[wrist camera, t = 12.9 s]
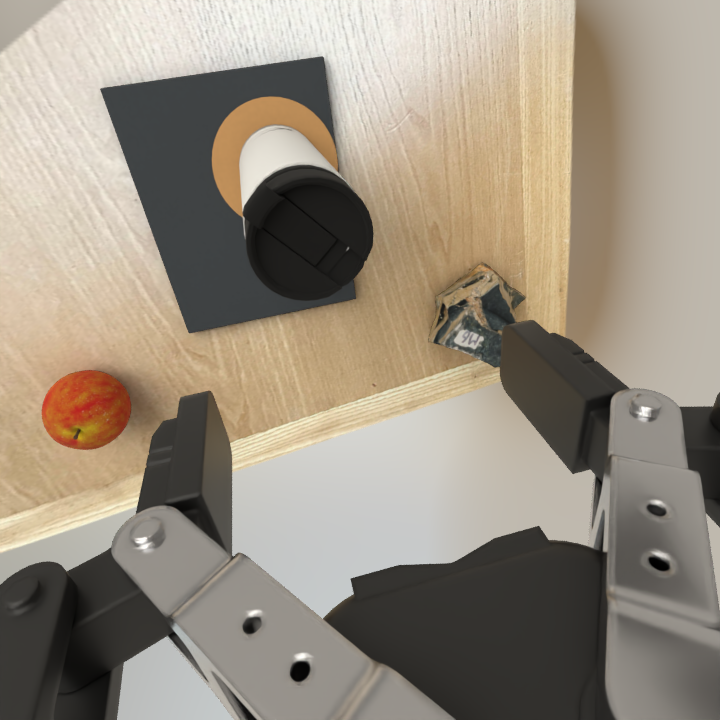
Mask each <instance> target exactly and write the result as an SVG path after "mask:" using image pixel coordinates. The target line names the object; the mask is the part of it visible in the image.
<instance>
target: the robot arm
mask: <svg viewBox="0 0 720 720" xmlns="http://www.w3.org/2000/svg"><path fill="white" fill-rule="evenodd" d="M500 377H501V382H502V385H503V387H504V390H505V391H506V393H507V394H508V395H509V397H510V398H511V399H512V400H513V401H514V402H515V404H516V405H517V406H518V408H519V409H520V410H521V411H522V413H523V414H524V415H525V416H526V417H527V419H528V420H529V421H530V422H531V423H532V425H533V426H534V427H535V428H536V430H537V431H538V432H539V433H540V434H541V436H542V437H543V438H544V439H545V440H546V442H547V443H548V444H549V445H550V447H551V448H552V449H553V450H554V452H555V453H556V454H557V455H558V456H559V458H560V459H561V460H562V461H563V463H564V464H565V465H566V466H567V468H568V469H569V470H570V471H571V472H572V474H574V473H578V472H582V471H586V470H589V469H591V470H592V472H593V473H594V474H595V478H594V482H593V491H592V503H591V516H590V529H589V540H588V546H585V545H581V544H578V543H572V542H567V541H557V540H548V539H547V537H546V536H545V534H544V533H543V531H542V530H541V528H540V527H539V526H537V527H533V528H530V529H526V530H523V531H519V532H515V533H512V534H509V535H505V536H501V537H498V538H494V539H493V540H491V541H490V542H488V543H486V544H484V545H482V546H481V547H479V548H477V549H476V550H474V551H472V552H471V553H469V554H467V555H466V556H464V557H462V558H461V559H459V560H457V561H455V562H453V563H447V564H419V565H398V566H394V567H390V568H387V569H383V570H380V571H376V572H373V573H369V574H365V575H362V576H358V577H355V578H351V582H352V587H353V591H354V594H353V595H352V596H350V597H348V598H347V599H345V600H344V601H342V602H341V603H340V604H338V605H337V606H336V607H335V608H333V609H332V610H331V611H330V612H329V613H328V614H327V615H326V616H325V617H324V618H323V619H322V618H321V617H320V616H318V615H317V614H316V613H315V612H314V611H312V610H311V609H310V608H309V607H308V606H306V605H305V604H304V603H303V602H301V601H300V600H299V599H298V598H297V597H296V596H294V595H293V594H292V593H291V592H290V591H288V590H287V589H286V588H285V587H283V586H282V585H281V584H280V583H279V582H277V581H276V580H275V579H274V578H273V577H272V576H270V575H269V574H268V573H267V572H266V571H264V570H263V569H262V568H261V567H260V566H258V565H257V564H256V563H255V562H253V561H252V560H251V559H250V558H249V557H247V556H246V555H244V554H242V553H237V554H236V555H235V556H234V557H233V556H232V453H231V447H230V442H229V438H228V435H227V432H226V429H225V426H224V424H223V421H222V418H221V415H220V412H219V410H218V407H217V404H216V401H215V399H214V396H213V394H212V392H211V391H206V392H202V393H197V394H193V395H188V396H184V397H181V398H180V401H179V407H178V414H177V418H174V419H170V420H166V421H163V422H162V424H161V425H160V426H159V428H158V429H157V430H156V432H155V433H154V435H153V436H152V439H151V444H150V449H149V455H148V458H147V463H146V465H147V468H145V473H144V478H143V482H142V487H141V492H140V497H139V501H138V506H137V511H136V515H134V516H133V517H131V518H130V519H129V520H128V521H126V522H125V523H124V524H123V525H122V526H121V528H120V529H119V530H118V532H117V533H116V535H115V537H114V539H113V541H112V546H111V548H109V549H108V550H107V551H105V552H103V553H102V554H100V555H98V556H96V557H94V558H92V559H90V560H88V561H86V562H85V563H83V564H81V565H79V566H77V567H75V568H73V569H71V570H69V571H67V572H66V570H65V569H64V568H63V567H62V566H61V565H60V564H58V563H55V562H41V563H36V564H33V565H30V566H28V567H26V568H24V569H22V570H20V571H18V572H17V573H15V574H13V575H12V576H11V577H9V578H8V579H7V580H6V581H4V582H3V583H2V584H1V585H0V720H117V713H118V705H119V696H120V689H121V680H122V671H123V664H124V662H125V661H127V660H128V659H130V658H132V657H133V656H135V655H137V654H138V653H140V652H141V651H143V650H145V649H146V648H148V647H150V646H151V645H153V644H155V643H156V642H158V641H160V640H161V639H163V638H164V637H167V638H168V640H169V641H170V642H171V643H172V644H173V645H174V647H175V648H176V649H177V650H178V651H179V652H180V654H181V655H182V656H183V657H184V658H185V659H186V661H187V662H188V663H189V664H190V665H191V666H192V668H194V670H195V671H196V672H197V674H198V675H199V676H200V677H201V678H202V679H203V681H204V682H205V683H206V684H207V685H208V686H209V687H210V688H211V690H212V691H213V692H214V693H215V695H216V696H217V697H218V699H219V700H220V701H221V703H222V704H223V705H224V707H225V708H226V709H227V711H228V712H229V713H230V715H231V716H232V717H233V718H234V720H720V610H719V604H718V596H717V589H716V582H715V575H714V568H713V561H712V554H711V547H710V540H709V533H708V526H707V520H706V513H707V514H708V516H710V518H711V519H712V520H713V521H714V522H715V523H716V524H717V525H718V526H719V527H720V393H719V394H718V395H717V398H716V401H715V403H714V406H713V407H679V406H678V405H677V404H676V403H675V402H674V401H673V400H671V399H670V398H669V397H667V396H665V395H663V394H661V393H658V392H655V391H652V390H647V389H636V388H634V389H629V388H628V387H627V386H626V385H625V384H623V383H622V382H621V381H620V380H619V379H617V378H616V377H615V376H614V375H613V374H612V373H610V372H609V371H608V370H607V369H606V368H604V367H603V366H602V365H601V364H599V363H598V362H597V361H596V362H595V361H594V359H593V358H592V357H591V356H590V355H589V354H587V353H584V350H583V349H582V348H580V347H579V346H578V345H577V344H575V343H574V342H573V341H572V340H570V339H567V338H565V337H563V336H560V335H558V334H556V333H551V334H549V333H548V332H547V331H546V330H545V329H543V328H542V327H541V326H540V325H539V324H538V323H536V322H535V321H534V320H528V321H523V322H519V323H514V324H510V325H506V326H504V328H503V330H502V342H501V361H500Z"/></svg>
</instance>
